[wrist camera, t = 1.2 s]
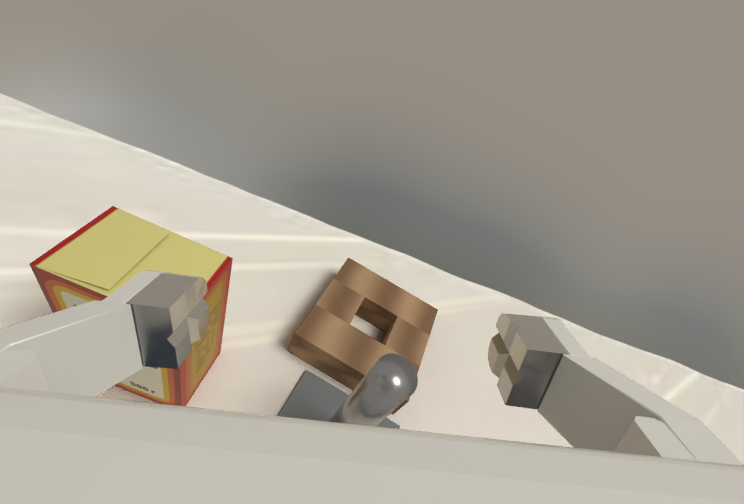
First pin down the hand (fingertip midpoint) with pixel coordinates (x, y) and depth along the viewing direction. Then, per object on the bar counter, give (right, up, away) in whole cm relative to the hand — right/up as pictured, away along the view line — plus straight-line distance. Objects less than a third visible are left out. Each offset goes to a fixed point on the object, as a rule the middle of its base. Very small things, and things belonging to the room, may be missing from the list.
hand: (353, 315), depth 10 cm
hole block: (-1, -9, +35) cm, 36 cm away
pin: (-3, -17, +25) cm, 31 cm away
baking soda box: (-21, -9, +25) cm, 34 cm away
